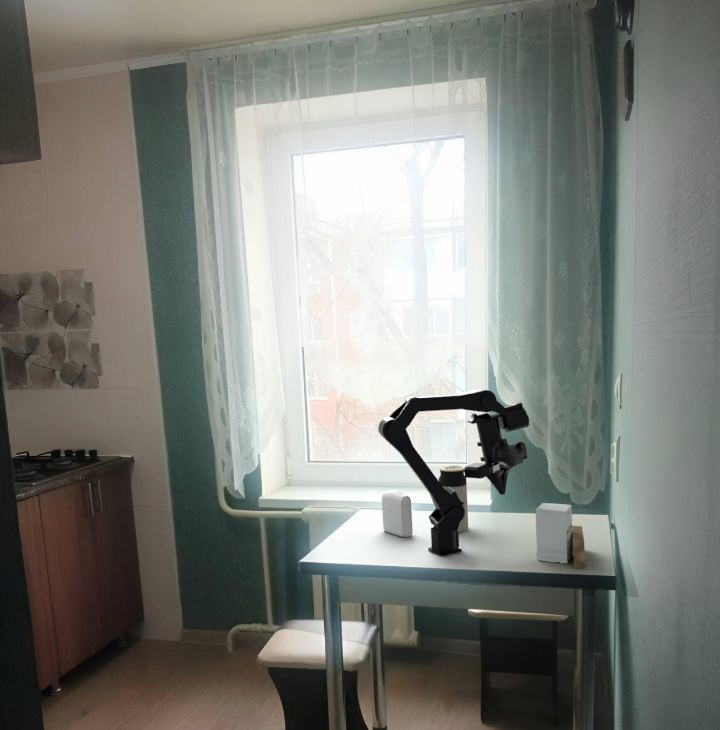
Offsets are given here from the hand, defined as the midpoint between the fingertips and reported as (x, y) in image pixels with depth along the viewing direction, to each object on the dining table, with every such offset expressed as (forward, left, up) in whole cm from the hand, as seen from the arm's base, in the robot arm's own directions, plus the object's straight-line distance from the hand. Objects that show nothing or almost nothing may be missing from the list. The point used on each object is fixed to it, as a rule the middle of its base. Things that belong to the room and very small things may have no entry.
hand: (502, 494), depth 162 cm
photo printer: (-16, +27, -14) cm, 34 cm away
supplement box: (+3, -14, -14) cm, 20 cm away
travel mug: (-1, +20, -14) cm, 24 cm away
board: (+7, -18, -14) cm, 24 cm away
